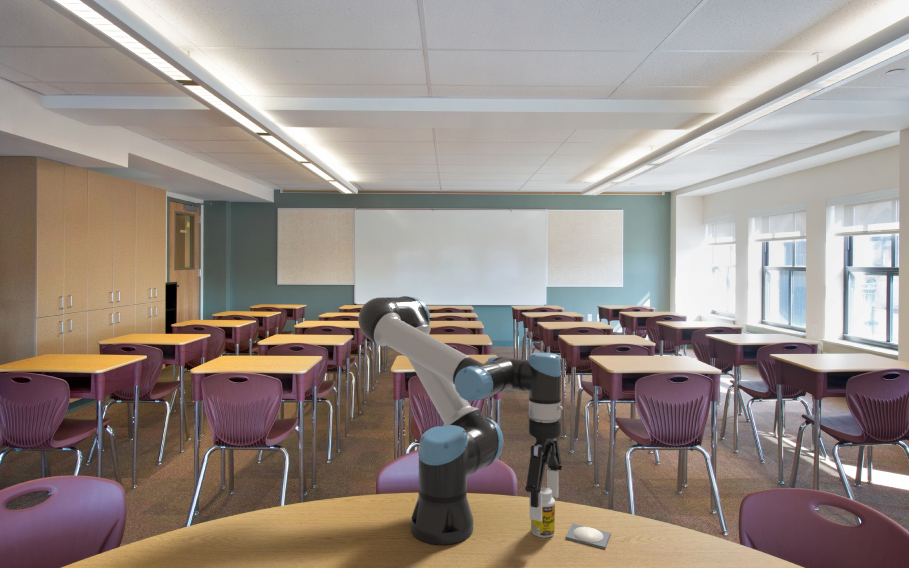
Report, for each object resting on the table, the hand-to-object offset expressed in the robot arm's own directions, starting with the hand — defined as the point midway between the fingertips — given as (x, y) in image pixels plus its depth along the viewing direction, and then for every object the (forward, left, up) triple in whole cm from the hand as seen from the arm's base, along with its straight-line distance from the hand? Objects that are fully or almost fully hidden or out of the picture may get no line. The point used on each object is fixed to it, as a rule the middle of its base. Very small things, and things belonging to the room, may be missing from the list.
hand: (544, 507), depth 115 cm
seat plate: (+10, +4, -6) cm, 12 cm away
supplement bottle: (0, 0, -6) cm, 6 cm away
